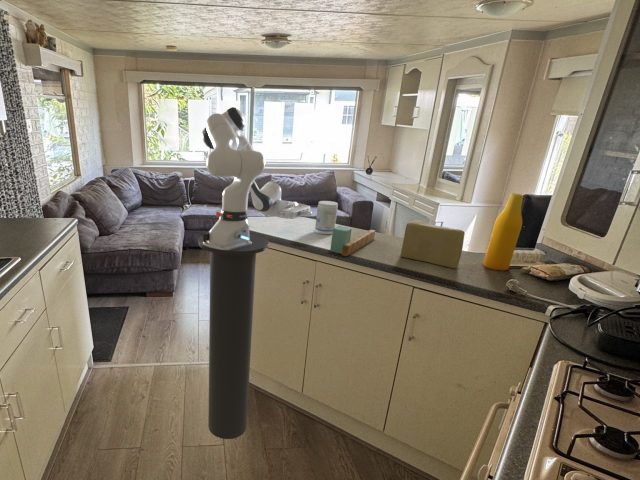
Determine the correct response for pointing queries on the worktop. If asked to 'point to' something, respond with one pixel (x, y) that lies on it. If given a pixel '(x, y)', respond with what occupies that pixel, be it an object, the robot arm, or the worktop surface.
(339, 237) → the teal block
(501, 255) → the beer bottle
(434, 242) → the cheese
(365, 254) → the worktop surface
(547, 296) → the worktop surface
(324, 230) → the supplement tub
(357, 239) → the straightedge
